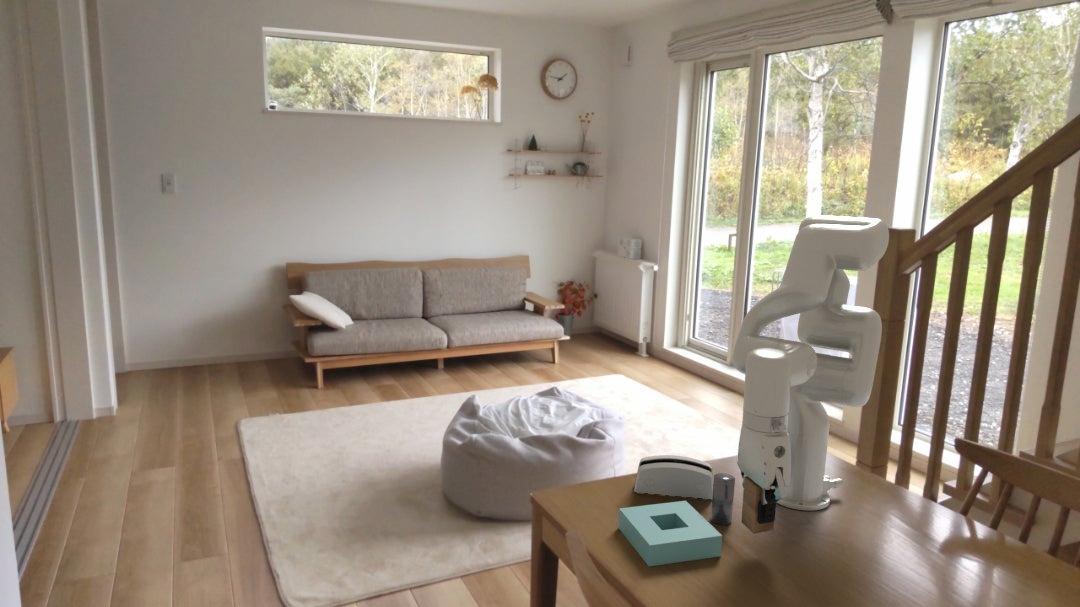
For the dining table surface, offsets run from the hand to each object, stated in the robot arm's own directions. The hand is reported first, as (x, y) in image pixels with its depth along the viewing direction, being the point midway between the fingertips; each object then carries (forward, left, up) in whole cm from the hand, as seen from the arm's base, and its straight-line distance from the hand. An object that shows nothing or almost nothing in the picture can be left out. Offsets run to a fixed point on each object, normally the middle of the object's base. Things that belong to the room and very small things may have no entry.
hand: (758, 514), depth 129 cm
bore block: (+14, -7, -7) cm, 17 cm away
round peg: (0, -12, -7) cm, 14 cm away
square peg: (0, 0, -2) cm, 2 cm away
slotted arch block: (+4, -25, -8) cm, 27 cm away
